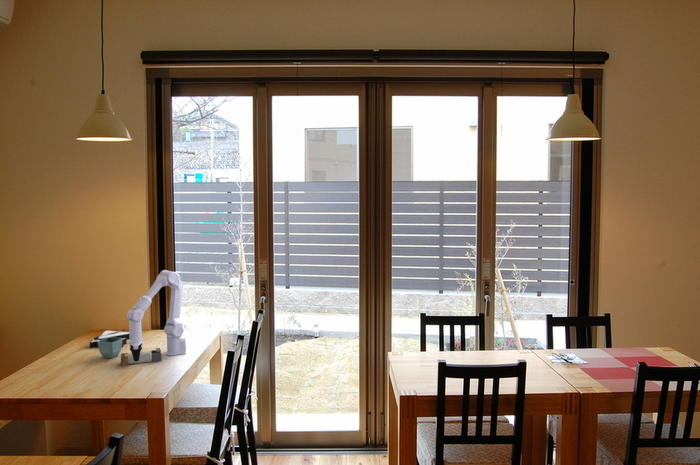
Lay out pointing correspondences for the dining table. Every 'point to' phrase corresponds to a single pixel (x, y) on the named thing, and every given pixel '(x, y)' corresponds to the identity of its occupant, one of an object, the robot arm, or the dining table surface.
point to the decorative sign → (112, 334)
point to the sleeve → (156, 355)
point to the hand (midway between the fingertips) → (136, 359)
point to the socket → (124, 359)
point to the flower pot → (110, 347)
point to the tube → (142, 358)
